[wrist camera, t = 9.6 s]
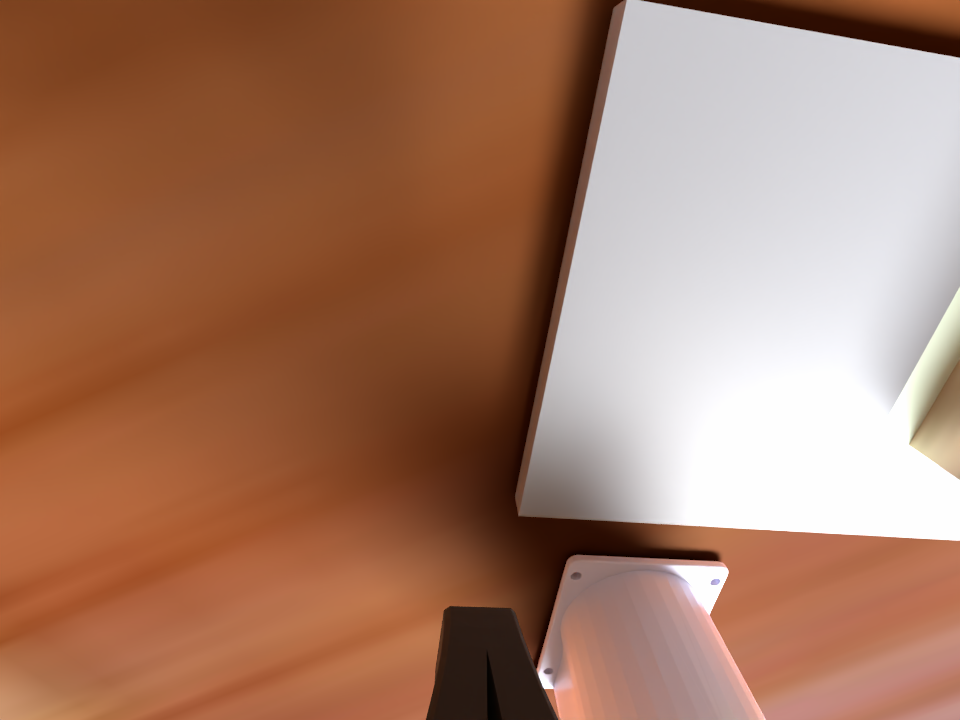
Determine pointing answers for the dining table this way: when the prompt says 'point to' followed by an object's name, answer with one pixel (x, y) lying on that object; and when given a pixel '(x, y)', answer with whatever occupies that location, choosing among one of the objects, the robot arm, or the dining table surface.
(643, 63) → the board
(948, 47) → the dining table surface
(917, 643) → the dining table surface
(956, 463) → the block
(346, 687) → the dining table surface
